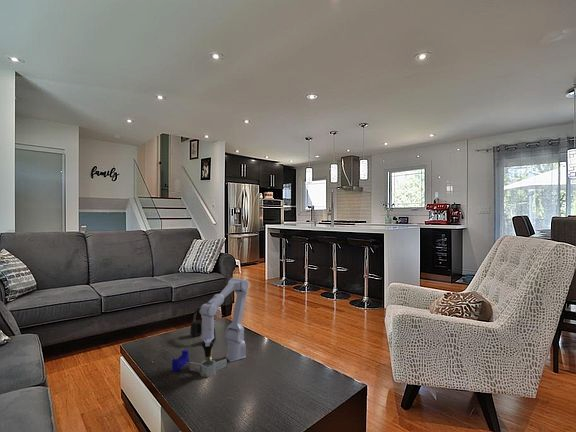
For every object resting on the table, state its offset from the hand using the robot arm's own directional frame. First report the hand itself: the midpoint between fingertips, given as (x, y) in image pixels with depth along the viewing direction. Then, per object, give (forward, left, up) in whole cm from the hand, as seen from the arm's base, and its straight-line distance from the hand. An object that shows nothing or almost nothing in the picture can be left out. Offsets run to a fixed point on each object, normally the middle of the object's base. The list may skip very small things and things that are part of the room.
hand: (208, 354), depth 156 cm
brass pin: (0, 0, -2) cm, 2 cm away
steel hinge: (-2, -2, -9) cm, 10 cm away
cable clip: (+10, -16, -10) cm, 21 cm away
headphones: (-11, -45, -10) cm, 47 cm away
